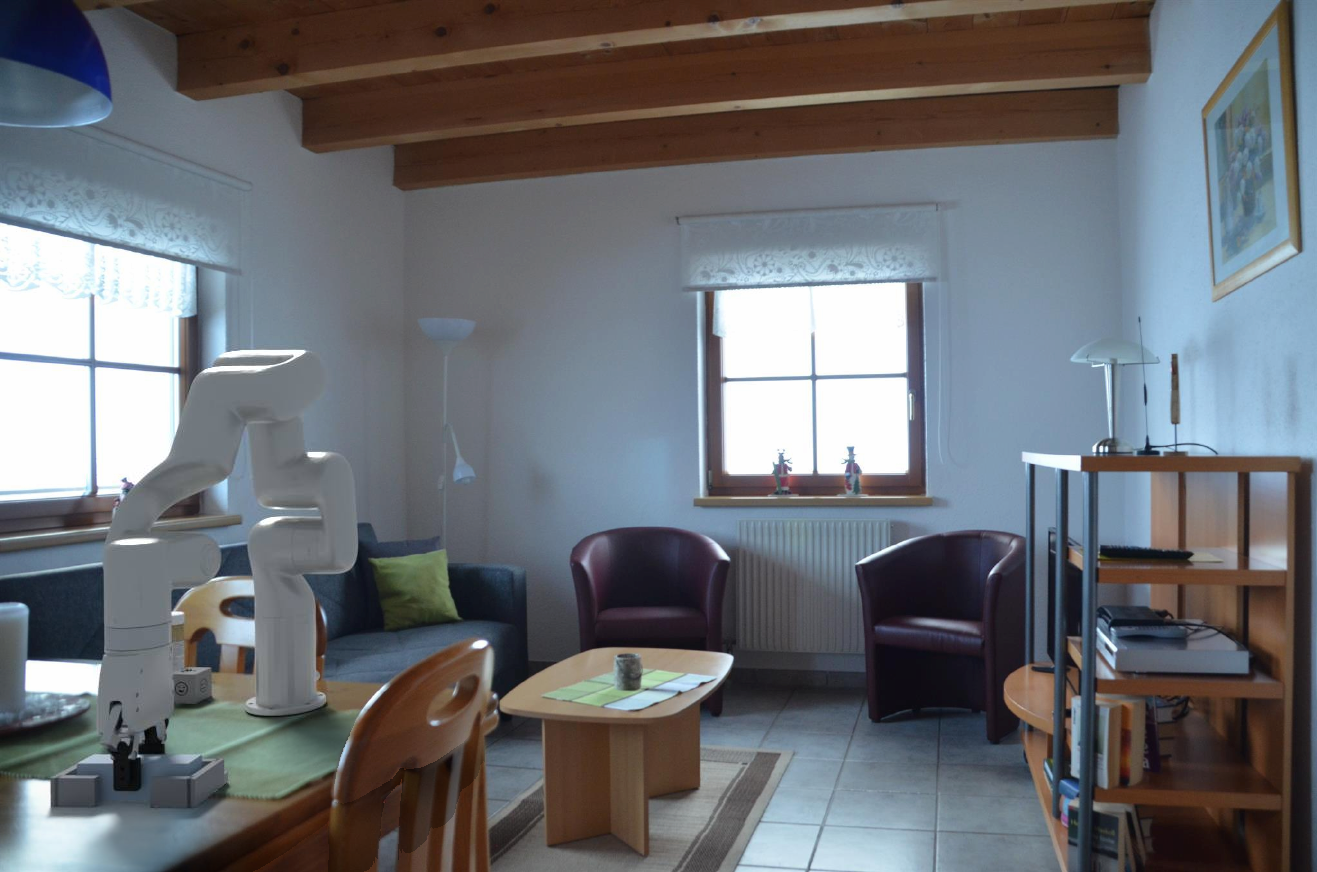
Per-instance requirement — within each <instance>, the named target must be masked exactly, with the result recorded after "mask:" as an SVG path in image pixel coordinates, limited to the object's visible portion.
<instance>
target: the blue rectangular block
mask: <svg viewBox="0 0 1317 872" xmlns="http://www.w3.org/2000/svg"><path fill="white" fill-rule="evenodd" d="M137 757H141V789H140V790H138V791H115V790H114V789H113V760H111V758H110V753H107V754H106V753H105V754H103V753H102V754H98V753H95V754H94V753H93V754H92V755H90V756H88V757H86V758H84V759H82V760H81V761H79V762H77V763H76V764H77V775H99V802H151V778H152V777H154V776H192V775H193V774H195V773H196V772H198V771H199V770H201V769H202V759H203V754H199V753H198V754H196V753H195V754H194V753H193V754H187V753H186V754H173V753H171V754H166V753H165V754H137Z"/></svg>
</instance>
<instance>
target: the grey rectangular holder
mask: <svg viewBox="0 0 1317 872" xmlns="http://www.w3.org/2000/svg"><path fill="white" fill-rule="evenodd" d="M227 782H228V783H229V771H225V758H202V769H201V770H199V771H198V772H196V773H195V774H193V775H192V776H154V777H152V778H151V801H150V808H173V809H175V808H185V809H186V808H190V809H191V808H197V807H198V806H200V805H201V804H202V803H203V802H205V801H206V800H207V799H209V798H210V797H211V796H212V795H211V794H212V793H213V792H214V791H216V790H218V789H219V788H220V787H222V786H223V785H224V784H226V783H227ZM49 784H50V789H49V790H50V807H55V808H56V807H59V808H60V807H64V808H65V807H66V808H71V807H72V808H73V807H75V808H78V807H79V808H95V807H96V806H98V805H100V801H99V775H77V763H76V764H73V765H72V766H70V767H68V768H66V769H65V770H63V771H61V772H59V773H57V774H56V775H52V777H50V783H49ZM226 785H227V784H226ZM222 788H223V787H222ZM218 791H219V790H218ZM210 795H211V796H210ZM209 796H210V797H209ZM208 797H209V798H208ZM204 800H205V801H204ZM201 802H202V803H201Z"/></svg>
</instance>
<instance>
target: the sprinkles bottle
mask: <svg viewBox="0 0 1317 872" xmlns="http://www.w3.org/2000/svg"><path fill="white" fill-rule="evenodd" d="M185 615H186V614H185V612H184V611H172V647H170V649H171V655H172V664H173V671H176V670H178V669H181V668H183V667H185V637H184V635H185V631H184V629H185V627H184V626H185V622H186V621H185V620H186V619H185V617H186V616H185Z"/></svg>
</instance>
